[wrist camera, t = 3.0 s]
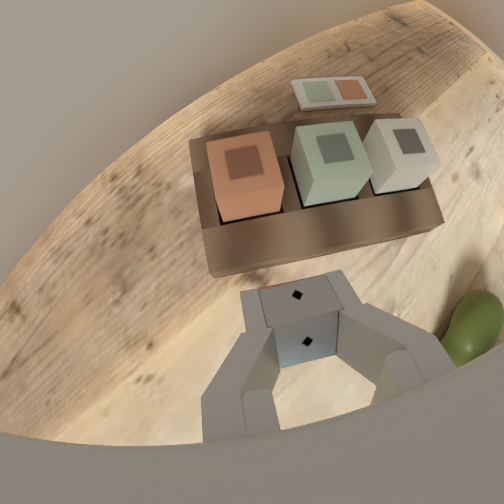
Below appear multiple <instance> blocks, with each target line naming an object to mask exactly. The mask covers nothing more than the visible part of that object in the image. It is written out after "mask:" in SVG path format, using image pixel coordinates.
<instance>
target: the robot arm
mask: <svg viewBox="0 0 504 504" xmlns="http://www.w3.org/2000/svg"><path fill="white" fill-rule="evenodd" d="M240 297H241V303H242V309H243V315H244V321H245V327H246V332H245V333H241V334H240V336H239V338H238V339H237V341H236V343H235V344H234V346H233V347H232V349H231V351H230V352H229V354H228V355H227V357H226V359H225V360H224V362H223V363H222V365H221V367H220V368H219V370H218V371H217V373H216V375H215V376H214V378H213V379H212V381H211V382H210V384H209V386H208V387H207V389H206V390H205V392H204V393H203V395H202V397H201V409H202V430H203V443H194V444H181V445H164V446H104V445H87V444H75V443H65V442H57V441H49V440H42V439H36V438H30V437H25V436H19V435H14V434H10V433H5V432H1V431H0V504H504V342H502V343H501V344H499V345H498V346H496V347H494V348H493V349H491V350H489V351H488V352H486V353H484V354H482V355H481V356H479V357H477V358H475V359H474V360H472V361H470V362H468V363H466V364H464V365H462V366H461V367H459V368H456V366H455V364H454V363H453V361H452V360H451V358H450V357H449V355H448V354H447V352H446V351H445V349H444V348H443V346H442V345H441V343H440V342H439V340H438V339H437V338H436V336H435V335H433V334H431V333H429V332H427V331H425V330H423V329H421V328H419V327H417V326H415V325H412V324H410V323H408V322H406V321H404V320H402V319H400V318H398V317H396V316H393V315H391V314H389V313H387V312H385V311H383V310H381V309H379V308H377V307H375V306H372V305H370V304H368V303H366V304H362V302H361V301H360V299H359V297H358V296H357V294H356V293H355V291H354V289H353V288H352V286H351V285H350V283H349V282H348V280H347V278H346V277H345V275H344V274H343V272H342V271H341V270H336V271H332V272H328V273H325V274H323V275H318V276H314V277H310V278H305V279H301V280H297V281H292V282H287V283H282V284H276V285H271V286H266V287H261V288H258V289H251V290H246V291H241V292H240ZM332 355H336V356H337V357H339V358H340V359H341V360H343V361H344V362H345V363H347V364H348V365H349V366H351V367H352V368H353V369H355V370H356V371H357V372H359V373H360V374H361V375H363V376H364V377H365V378H367V379H368V380H370V381H371V382H372V383H374V384H375V385H376V386H377V387H376V390H375V393H374V396H373V399H372V402H371V404H370V406H367V407H364V408H361V409H358V410H355V411H352V412H349V413H346V414H342V415H339V416H336V417H332V418H329V419H325V420H322V421H318V422H314V423H310V424H306V425H302V426H298V427H294V428H290V429H285V430H280V425H279V421H278V417H277V413H276V408H275V404H274V400H273V395H272V391H273V388H274V386H275V383H276V381H277V378H278V375H279V373H280V369H281V368H285V367H289V366H292V365H296V364H300V363H304V362H307V361H312V360H316V359H320V358H324V357H328V356H332Z"/></svg>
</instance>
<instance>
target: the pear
mask: <svg viewBox="0 0 504 504" xmlns="http://www.w3.org/2000/svg"><path fill="white" fill-rule="evenodd" d="M503 323H504V309H503V306H502V304H501V302H500V300H499V299H498V298H497V297H496V296H495V295H494V294H493V293H491V292H489V291H486V290H475V291H472V292H470V293H469V294H467V295H466V296H465V297H464V298H463V299H462V300H461V301H460V302H459V304H458V306H457V307H456V309H455V311H454V313H453V315H452V318H451V321H450V324H449V328H448V331H447V333H446V334H445V336H444V337H443V339H442V340H441V341H440V343H441V345H442V346H443V348H444V349H445V351H446V352H447V354H448V355H449V357H450V358H451V360H452V361H453V363H454V364H455V366H456V368H459V367H461V366H462V365H464V364H466V363H468V362H470V361H472V360H474V359H475V358H477V357H479V356H481V355H482V354H484V353H486V352H488V351H489V350H490V349H491V348H492V347H493V345H494V344H495V342H496V340H497V338H498V337H499V334H500V332H501V330H502V327H503Z"/></svg>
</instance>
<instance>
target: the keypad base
mask: <svg viewBox="0 0 504 504" xmlns="http://www.w3.org/2000/svg"><path fill="white" fill-rule="evenodd" d="M399 118H401V116H400V114H399V113H388V114H365V115H349V116H337V117H326V118H316V119H307V120H298V121H291V122H283V123H276V124H270V125H263V126H257V127H251V128H245V129H240V130H234V131H229V132H224V133H219V134H214V135H209V136H205V137H200V138H196V139H191V140H189V147H190V155H191V162H192V169H193V176H194V183H195V190H196V196H197V203H198V209H199V215H200V222H201V228H202V234H203V240H204V245H205V251H206V257H207V263H208V268H209V273H210V274H211V275H212V276H213V277H214V278H219V277H224V276H229V275H234V274H238V273H243V272H248V271H253V270H258V269H263V268H268V267H272V266H277V265H282V264H287V263H291V262H296V261H301V260H305V259H310V258H315V257H319V256H324V255H328V254H333V253H337V252H342V251H346V250H351V249H355V248H360V247H364V246H369V245H373V244H378V243H382V242H386V241H391V240H395V239H400V238H404V237H408V236H412V235H417V234H421V233H425V232H429V231H431V230H433V229H434V228H436V227H438V226H440V225H441V224H443V223H445V222H444V219H443V216H442V213H441V210H440V207H439V205H438V202H437V199H436V196H435V193H434V191H433V188H432V186H431V183H430V180H429V178H428V177H427V178H426V179H425V180H424V181H423V182H422V183H421V184H420V185H419V186H418V187H416V188H411V189H404V190H398V191H391V192H385V193H379V194H375V191H374V189H373V186H372V183H371V180H370V178H369V179H368V181H367V182H366V183H365V185H364V186H363V187H362V189H361V190H360V191H359V193H358V194H357V195H356V197H354V198H348V199H343V200H337V201H331V202H326V203H320V204H314V205H309V206H304V205H303V201H302V198H301V194H300V191H299V187H298V184H297V180H296V177H295V173H294V170H293V167H292V163H291V160H290V156H291V151H292V146H293V140H294V135H295V129H296V127H298V126H306V125H315V124H324V123H334V122H345V121H353V123H354V125H355V128H356V130H357V132H358V135H359V137H360V139H361V142H363V141H364V139H365V137H366V135H367V133H368V131H369V130H370V128H371V126H372V124H373V122H374V120H375V119H399ZM264 131H269V133H270V136H271V140H272V143H273V147H274V150H275V154H276V157H277V161H278V164H279V168H280V171H281V175H282V179H283V182H284V191H283V196H282V202H281V207H280V211H277V212H272V213H267V214H262V215H256V216H251V217H247V218H242V219H237V220H232V221H227V222H223V220H222V217H221V214H220V211H219V208H218V205H217V202H216V199H215V193H214V188H213V182H212V176H211V170H210V165H209V159H208V153H207V147H206V142H210V141H215V140H220V139H225V138H230V137H235V136H240V135H246V134H252V133H257V132H264Z"/></svg>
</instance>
